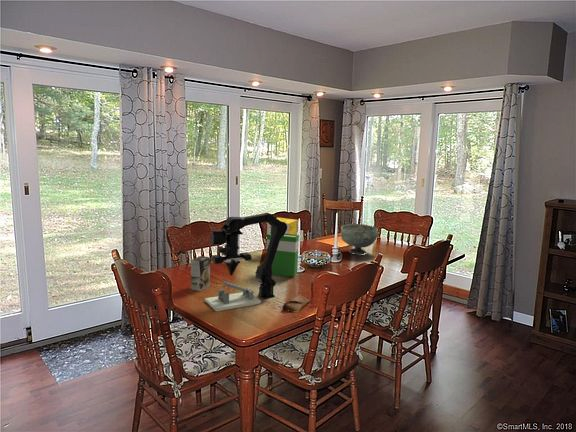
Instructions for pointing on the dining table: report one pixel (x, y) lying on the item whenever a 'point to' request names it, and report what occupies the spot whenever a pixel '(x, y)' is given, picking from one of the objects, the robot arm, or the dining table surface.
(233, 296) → the base
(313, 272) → the dining table surface
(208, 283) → the coffee box
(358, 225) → the decorative bowl
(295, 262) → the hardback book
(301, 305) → the sunglasses case
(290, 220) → the packaging box
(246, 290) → the bar
